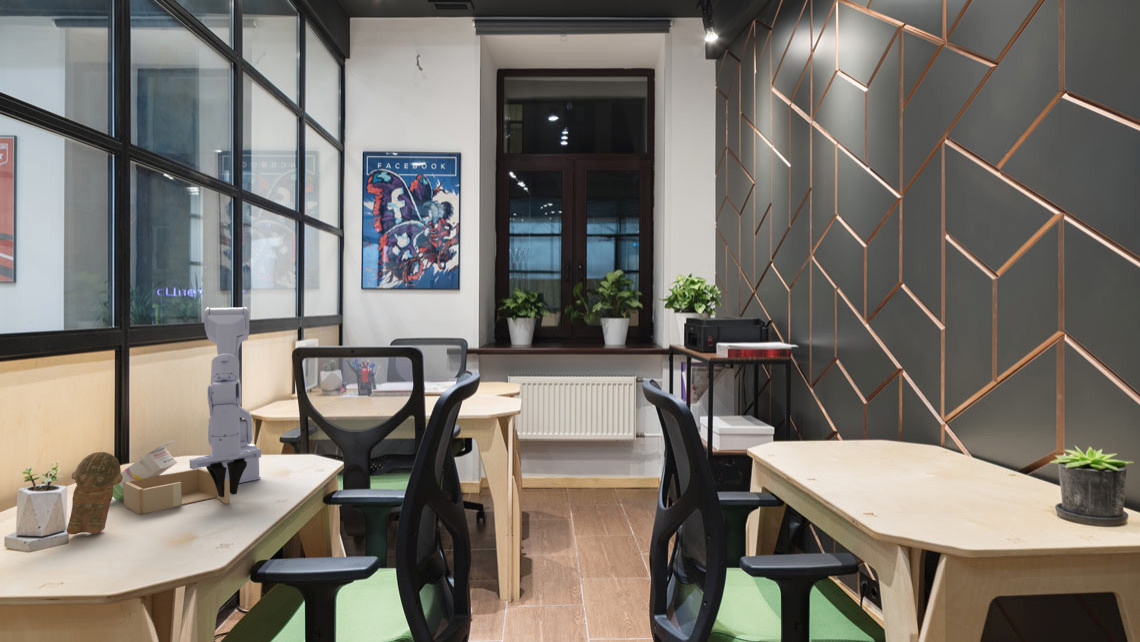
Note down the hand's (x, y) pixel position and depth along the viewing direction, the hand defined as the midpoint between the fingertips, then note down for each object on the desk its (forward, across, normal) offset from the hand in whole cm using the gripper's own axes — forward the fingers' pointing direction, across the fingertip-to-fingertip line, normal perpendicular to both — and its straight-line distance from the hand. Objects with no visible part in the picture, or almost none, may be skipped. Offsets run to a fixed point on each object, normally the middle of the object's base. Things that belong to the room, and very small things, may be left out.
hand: (227, 494), depth 146 cm
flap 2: (+1, 0, +1) cm, 2 cm away
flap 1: (+1, -11, +5) cm, 13 cm away
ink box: (0, -14, +25) cm, 29 cm away
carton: (+2, -8, +11) cm, 13 cm away
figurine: (+2, -24, -1) cm, 25 cm away
